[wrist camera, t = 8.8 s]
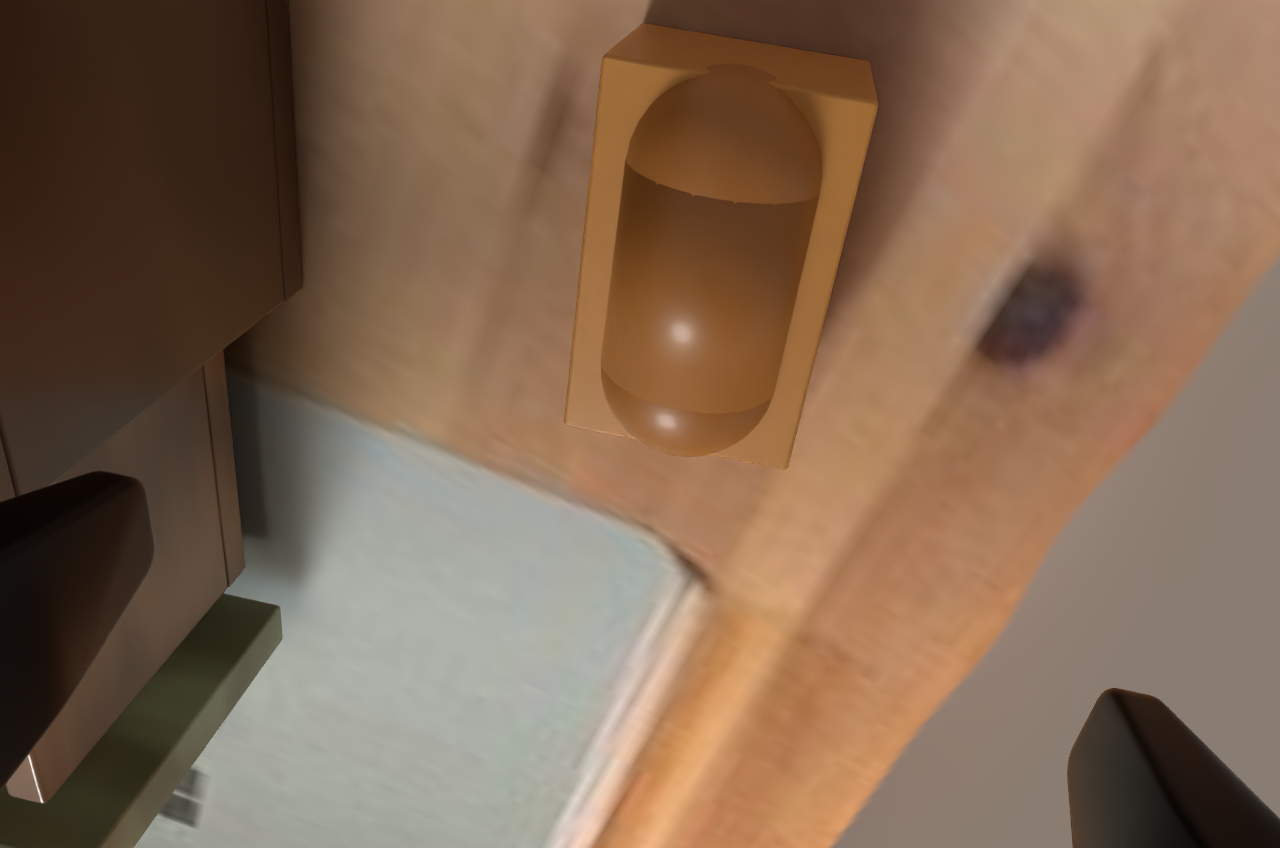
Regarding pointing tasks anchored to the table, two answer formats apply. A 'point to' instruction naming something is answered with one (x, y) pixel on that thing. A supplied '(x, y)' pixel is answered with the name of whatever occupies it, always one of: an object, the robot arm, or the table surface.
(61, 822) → the drawer
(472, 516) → the table surface
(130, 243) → the cabinet
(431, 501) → the table surface
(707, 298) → the orange hollowed block
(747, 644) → the table surface
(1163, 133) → the table surface
